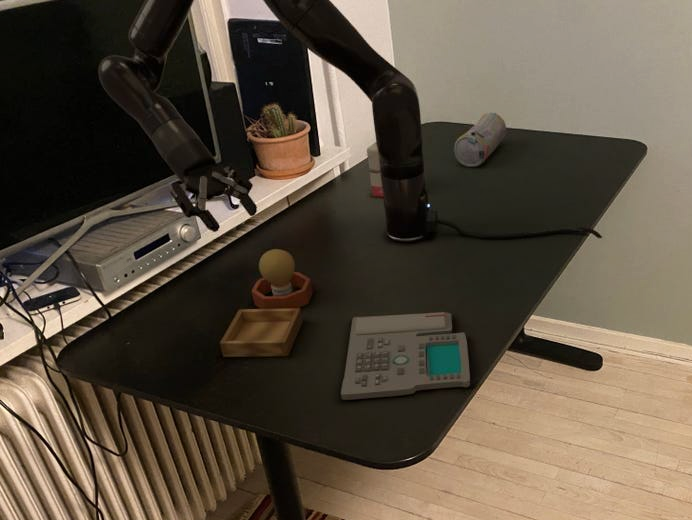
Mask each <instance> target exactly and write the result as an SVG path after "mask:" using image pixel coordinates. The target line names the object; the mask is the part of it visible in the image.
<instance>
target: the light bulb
mask: <svg viewBox="0 0 692 520" xmlns="http://www.w3.org/2000/svg"><path fill="white" fill-rule="evenodd" d="M258 269H259V272H260V274H261V276H262V278H265V279H266V280H267V281H268V282H269V283H271V284H272V285H271V288H272V291H271V292H272V296H287V295H289V294H291V293H294V291H293V287H291V286H292V285H291V282H290V279H291V278H292V276H293V274H294V272H295V271H296V263H295V260H294V257H293V256H292V255H291V253H289V252H288V251H286V250H283V249H280V248H274V249H270V250H268V251H266V252H264V253H263V254H262V256H261V257H260V259H259V263H258Z"/></svg>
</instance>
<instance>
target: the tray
mask: <svg viewBox="0 0 692 520" xmlns="http://www.w3.org/2000/svg"><path fill="white" fill-rule="evenodd" d="M303 321H304V320H303V315H302V311H301V307H299V308H292V309H260V308H247V309H245V308H243V309H242V308H241V309H240V308H239V309H238V311H237V313H236V314H235V316H234V317H233V319H232V321H231V322H230V325H229V327H228V328H227V330H226V332H225V333H224V335H223V337H222V338H221V339H220V342H219V346H220V350H221V353H222V356H223V358H247V357H249V358H253V357H254V358H255V357H289V355H290V353H291V350H292V348H293V346H294V343H295V342H296V341H295V340H296V339H297V337H298V333H299V331H300V329H301V326H302V325H303Z"/></svg>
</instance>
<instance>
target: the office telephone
mask: <svg viewBox="0 0 692 520" xmlns="http://www.w3.org/2000/svg"><path fill="white" fill-rule="evenodd" d="M452 319H453V318H452V314H451V313H450V312H444V311H439V312H426V313H425V312H424V313H406V314H405V313H404V314H388V315H370V316H354V317H352V321H351V328H350V335H349V341H348V348H347V356H346V362H345V370H344V377H343V379H342V384H341V391H340V397H341V400H342V401H351V400H352V401H353V400H362V399H375V398H384V397H385V398H386V397H396V396H407V395H412V394H415V393H416V391H418V392H419V391H424V390H436V389H447V388H459V387H460V388H469V387H470V386H471V374H470V373H471V372H470V361H469V352H468V351H469V350H468V342H467V337H466V333H465V332H456V333H455V332H454V333H453V322H452Z"/></svg>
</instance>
